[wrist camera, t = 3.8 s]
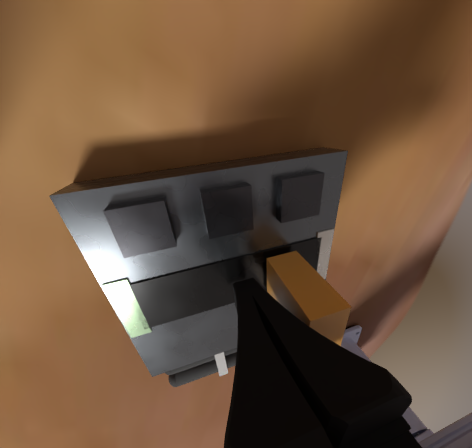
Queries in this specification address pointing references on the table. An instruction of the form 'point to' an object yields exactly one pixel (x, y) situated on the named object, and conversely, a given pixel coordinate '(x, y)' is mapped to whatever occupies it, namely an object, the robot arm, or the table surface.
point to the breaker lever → (307, 295)
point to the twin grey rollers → (203, 368)
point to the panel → (200, 242)
